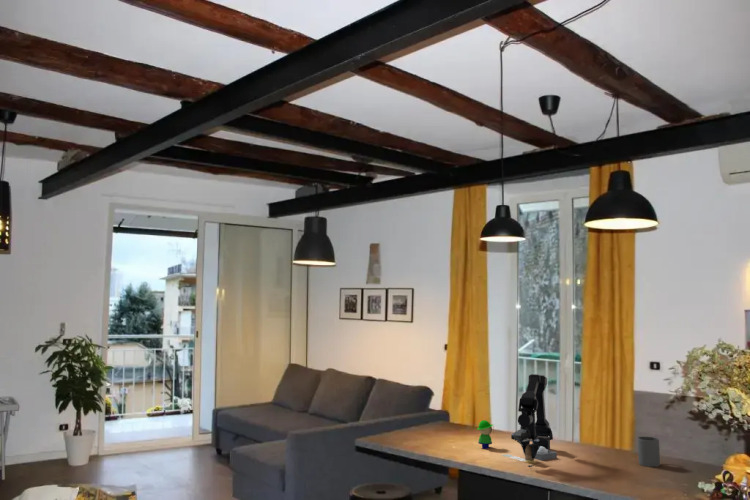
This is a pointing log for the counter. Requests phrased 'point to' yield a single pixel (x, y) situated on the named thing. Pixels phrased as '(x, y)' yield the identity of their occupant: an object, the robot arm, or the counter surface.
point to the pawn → (528, 453)
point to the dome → (542, 450)
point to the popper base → (546, 456)
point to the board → (519, 459)
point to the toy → (485, 433)
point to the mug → (648, 451)
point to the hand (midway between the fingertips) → (529, 457)
